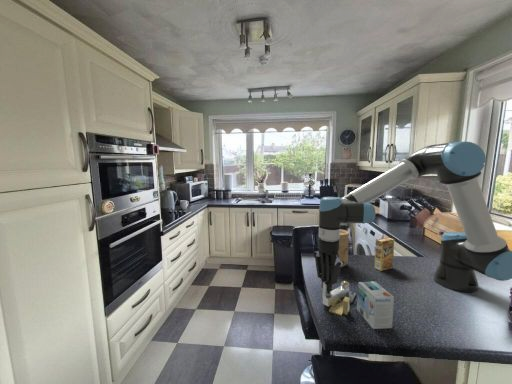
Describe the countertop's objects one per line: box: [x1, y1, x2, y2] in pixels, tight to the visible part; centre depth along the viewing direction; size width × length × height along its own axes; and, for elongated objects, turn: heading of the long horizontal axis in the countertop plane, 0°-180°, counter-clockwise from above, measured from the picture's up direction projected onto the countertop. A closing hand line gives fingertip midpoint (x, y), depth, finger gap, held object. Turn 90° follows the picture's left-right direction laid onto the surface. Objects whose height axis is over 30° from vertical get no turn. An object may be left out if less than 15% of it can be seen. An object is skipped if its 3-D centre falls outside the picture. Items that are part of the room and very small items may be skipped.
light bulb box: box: [356, 280, 395, 330], centre depth 78 cm, size 11×7×11 cm, turn 5°
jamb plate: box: [341, 290, 357, 304], centre depth 92 cm, size 7×7×1 cm
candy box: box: [374, 237, 395, 272], centre depth 118 cm, size 9×4×15 cm, turn 113°
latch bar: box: [322, 280, 350, 307], centre depth 89 cm, size 15×3×5 cm, turn 128°
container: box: [334, 228, 350, 268], centre depth 122 cm, size 13×13×18 cm
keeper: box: [328, 297, 351, 317], centre depth 85 cm, size 6×10×5 cm, turn 145°
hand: (326, 298), depth 88 cm, fingers closed
